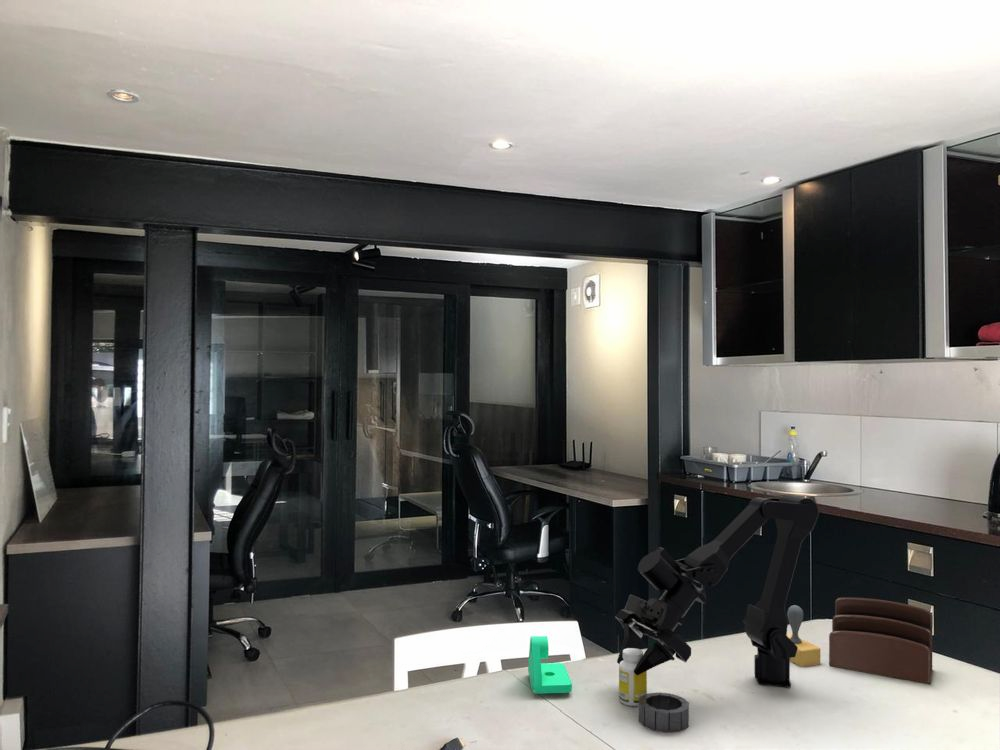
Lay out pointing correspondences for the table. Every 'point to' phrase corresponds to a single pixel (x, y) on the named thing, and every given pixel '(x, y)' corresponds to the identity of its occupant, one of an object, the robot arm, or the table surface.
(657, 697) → the ring
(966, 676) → the table surface
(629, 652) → the supplement bottle
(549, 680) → the camera mount
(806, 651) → the rubber stamp
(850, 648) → the letter holder
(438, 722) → the table surface
